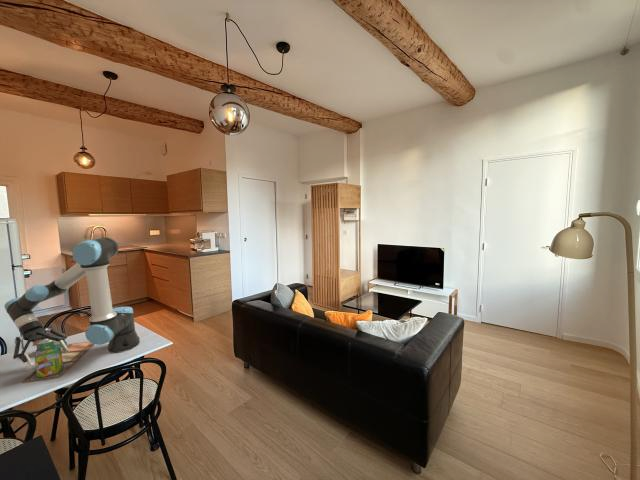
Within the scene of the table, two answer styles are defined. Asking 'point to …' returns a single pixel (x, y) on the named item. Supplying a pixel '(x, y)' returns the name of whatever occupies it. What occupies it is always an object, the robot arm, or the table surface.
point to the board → (67, 358)
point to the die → (46, 342)
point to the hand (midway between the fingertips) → (50, 358)
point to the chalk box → (48, 360)
